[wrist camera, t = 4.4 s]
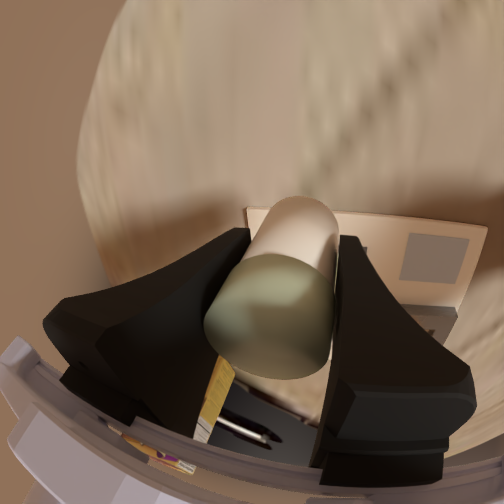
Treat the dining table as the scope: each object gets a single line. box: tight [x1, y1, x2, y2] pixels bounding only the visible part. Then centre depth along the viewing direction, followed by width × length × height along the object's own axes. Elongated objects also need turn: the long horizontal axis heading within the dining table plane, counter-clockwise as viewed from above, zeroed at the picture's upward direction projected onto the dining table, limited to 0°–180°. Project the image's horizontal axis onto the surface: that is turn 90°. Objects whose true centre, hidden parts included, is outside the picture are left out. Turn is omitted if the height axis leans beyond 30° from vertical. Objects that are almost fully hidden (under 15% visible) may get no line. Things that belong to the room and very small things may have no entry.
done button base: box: [400, 304, 458, 346], centre depth 21 cm, size 8×8×1 cm
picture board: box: [246, 207, 488, 359], centre depth 21 cm, size 18×16×1 cm
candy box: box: [121, 355, 235, 475], centre depth 29 cm, size 9×4×15 cm, turn 106°
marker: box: [203, 196, 339, 380], centre depth 9 cm, size 3×3×6 cm
